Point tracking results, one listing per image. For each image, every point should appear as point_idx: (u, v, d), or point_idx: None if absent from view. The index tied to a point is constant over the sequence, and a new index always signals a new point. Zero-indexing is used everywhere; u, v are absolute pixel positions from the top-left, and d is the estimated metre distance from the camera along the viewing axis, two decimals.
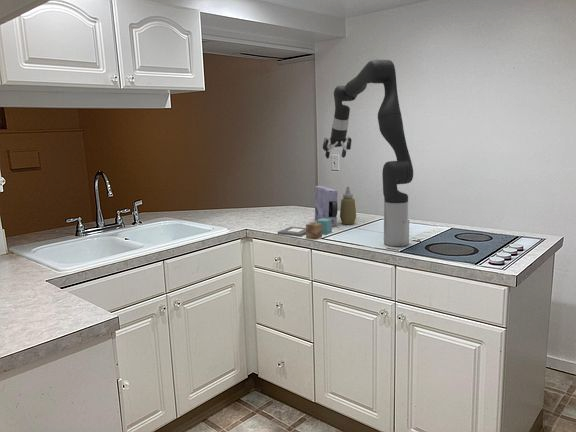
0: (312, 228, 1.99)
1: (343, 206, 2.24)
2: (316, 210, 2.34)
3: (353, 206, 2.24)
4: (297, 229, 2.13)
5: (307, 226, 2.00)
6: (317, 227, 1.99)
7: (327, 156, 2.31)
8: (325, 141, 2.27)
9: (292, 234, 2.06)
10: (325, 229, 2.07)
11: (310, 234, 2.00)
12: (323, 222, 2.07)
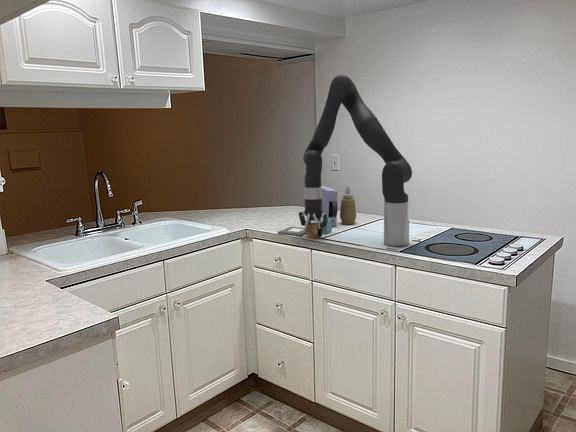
0: (312, 228, 1.99)
1: (343, 206, 2.24)
2: None
3: (353, 206, 2.23)
4: (297, 229, 2.13)
5: (307, 226, 2.00)
6: (317, 227, 1.99)
7: None
8: (327, 217, 1.97)
9: (292, 234, 2.06)
10: (325, 229, 2.07)
11: (310, 234, 2.00)
12: None
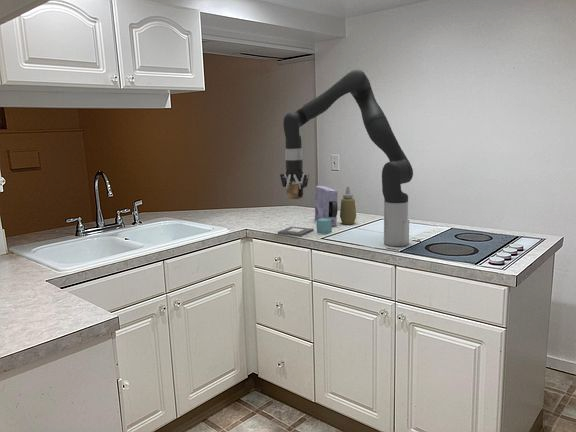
0: (293, 188, 2.06)
1: (343, 206, 2.24)
2: (316, 210, 2.34)
3: (353, 206, 2.23)
4: (297, 229, 2.13)
5: (288, 186, 2.07)
6: None
7: None
8: (307, 177, 2.04)
9: (292, 234, 2.06)
10: (325, 229, 2.07)
11: (291, 194, 2.07)
12: (323, 222, 2.07)
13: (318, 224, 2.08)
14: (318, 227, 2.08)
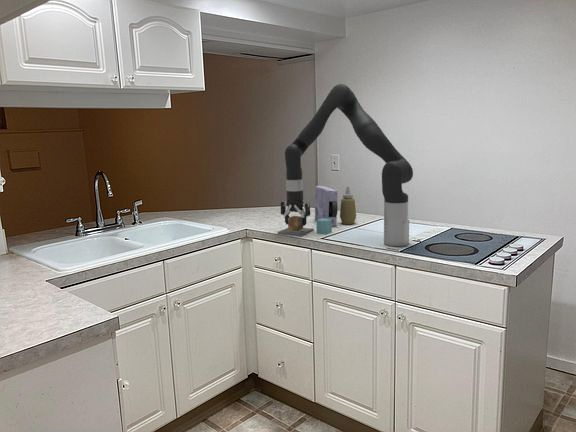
0: (294, 221, 2.09)
1: (343, 206, 2.24)
2: (316, 210, 2.34)
3: (353, 206, 2.24)
4: None
5: (289, 219, 2.10)
6: (298, 220, 2.09)
7: None
8: (309, 205, 2.07)
9: (292, 234, 2.06)
10: (325, 229, 2.07)
11: (292, 227, 2.10)
12: (323, 222, 2.07)
13: (318, 224, 2.08)
14: (318, 227, 2.08)
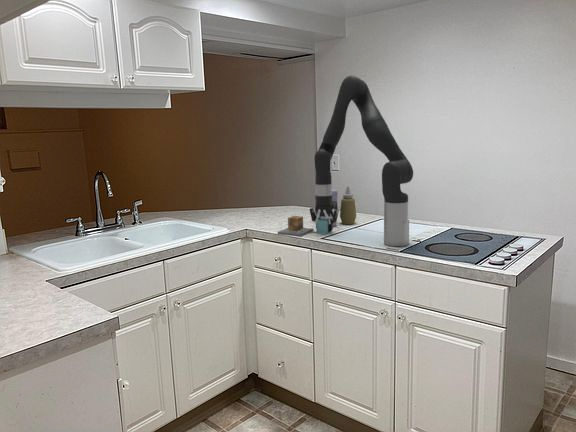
0: (294, 221, 2.09)
1: (343, 206, 2.24)
2: None
3: (353, 206, 2.23)
4: None
5: (289, 219, 2.10)
6: (298, 220, 2.09)
7: None
8: (337, 212, 2.06)
9: (292, 234, 2.06)
10: (325, 229, 2.07)
11: (292, 227, 2.10)
12: (323, 222, 2.07)
13: (318, 224, 2.08)
14: (318, 227, 2.08)
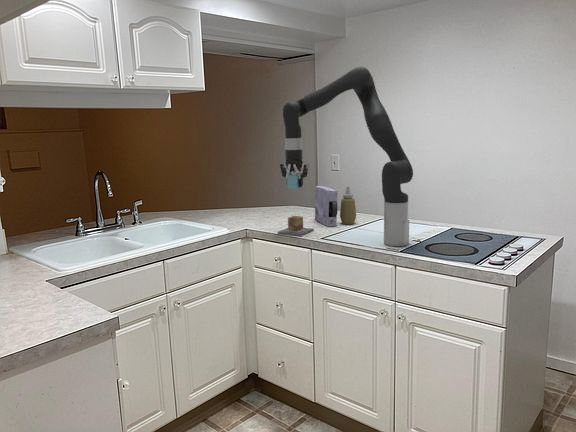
0: (294, 221, 2.09)
1: (343, 206, 2.24)
2: (316, 210, 2.34)
3: (353, 206, 2.24)
4: None
5: (289, 219, 2.10)
6: (298, 220, 2.09)
7: None
8: (307, 167, 2.04)
9: (292, 234, 2.06)
10: (295, 184, 2.05)
11: (292, 227, 2.10)
12: (293, 177, 2.05)
13: (288, 179, 2.06)
14: (288, 182, 2.07)
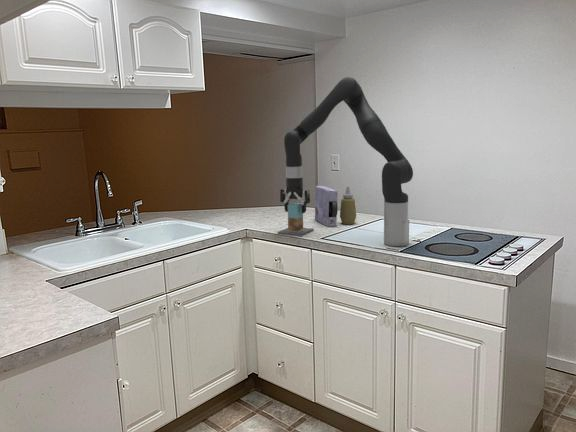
0: (294, 221, 2.09)
1: (343, 206, 2.24)
2: (316, 210, 2.34)
3: (353, 206, 2.24)
4: None
5: (289, 219, 2.10)
6: (298, 220, 2.09)
7: None
8: (308, 192, 2.06)
9: (292, 234, 2.06)
10: (296, 213, 2.07)
11: (292, 227, 2.10)
12: (294, 206, 2.07)
13: (289, 208, 2.09)
14: (289, 211, 2.09)
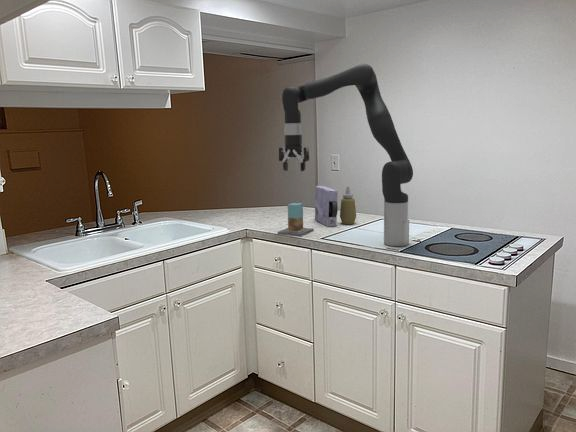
0: (294, 221, 2.09)
1: (343, 206, 2.24)
2: (316, 210, 2.34)
3: (353, 206, 2.23)
4: None
5: (289, 219, 2.10)
6: (298, 220, 2.09)
7: None
8: (307, 150, 2.02)
9: (292, 234, 2.06)
10: (296, 213, 2.07)
11: (292, 227, 2.10)
12: (294, 206, 2.07)
13: (289, 208, 2.09)
14: (289, 211, 2.09)
